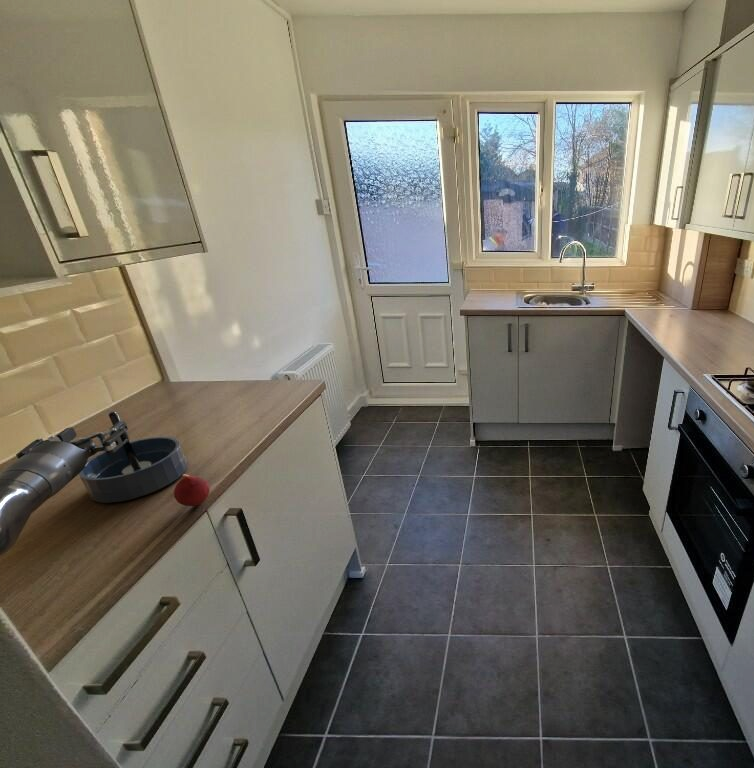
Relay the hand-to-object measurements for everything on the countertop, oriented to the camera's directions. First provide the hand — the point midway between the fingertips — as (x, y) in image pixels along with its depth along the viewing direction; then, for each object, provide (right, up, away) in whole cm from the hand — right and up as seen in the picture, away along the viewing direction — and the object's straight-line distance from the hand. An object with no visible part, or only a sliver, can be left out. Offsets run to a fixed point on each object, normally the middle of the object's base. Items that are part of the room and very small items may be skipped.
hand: (98, 428), depth 84 cm
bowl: (-1, -13, +12) cm, 18 cm away
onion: (+18, -17, +3) cm, 25 cm away
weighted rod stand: (-1, -13, +11) cm, 17 cm away
